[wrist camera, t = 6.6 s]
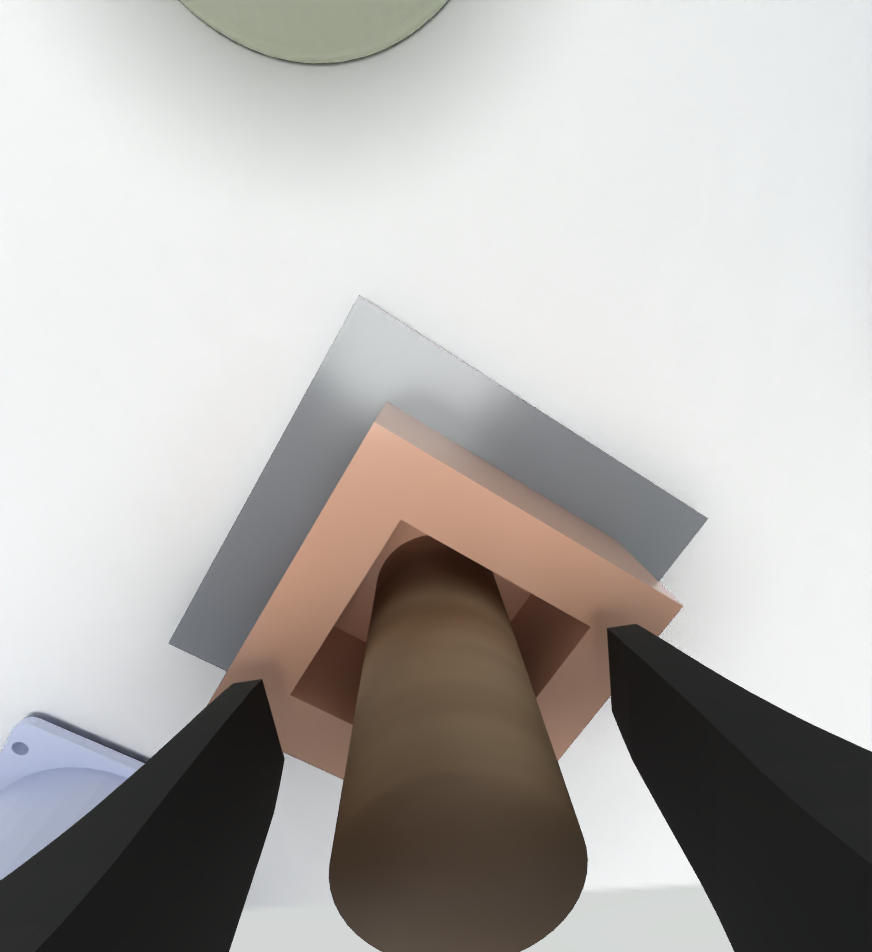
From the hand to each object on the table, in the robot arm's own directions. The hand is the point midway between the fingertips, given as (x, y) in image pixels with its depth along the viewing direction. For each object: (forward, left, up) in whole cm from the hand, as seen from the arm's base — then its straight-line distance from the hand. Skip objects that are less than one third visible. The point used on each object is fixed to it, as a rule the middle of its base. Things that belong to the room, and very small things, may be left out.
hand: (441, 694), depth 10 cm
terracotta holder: (0, 0, -6) cm, 6 cm away
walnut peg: (0, 0, -4) cm, 4 cm away
